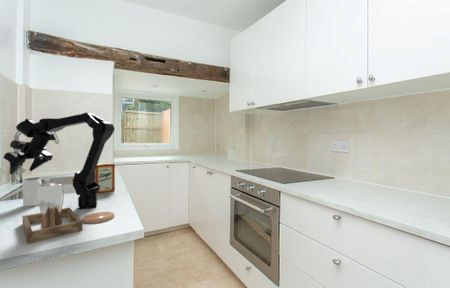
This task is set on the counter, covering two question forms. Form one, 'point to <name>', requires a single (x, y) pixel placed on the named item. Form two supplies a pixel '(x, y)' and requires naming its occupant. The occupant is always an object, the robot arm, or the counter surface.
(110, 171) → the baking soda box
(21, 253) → the counter surface
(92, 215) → the terracotta saucer
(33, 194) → the can
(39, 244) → the counter surface
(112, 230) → the counter surface
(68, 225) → the wooden frame
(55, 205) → the silver metal cup
